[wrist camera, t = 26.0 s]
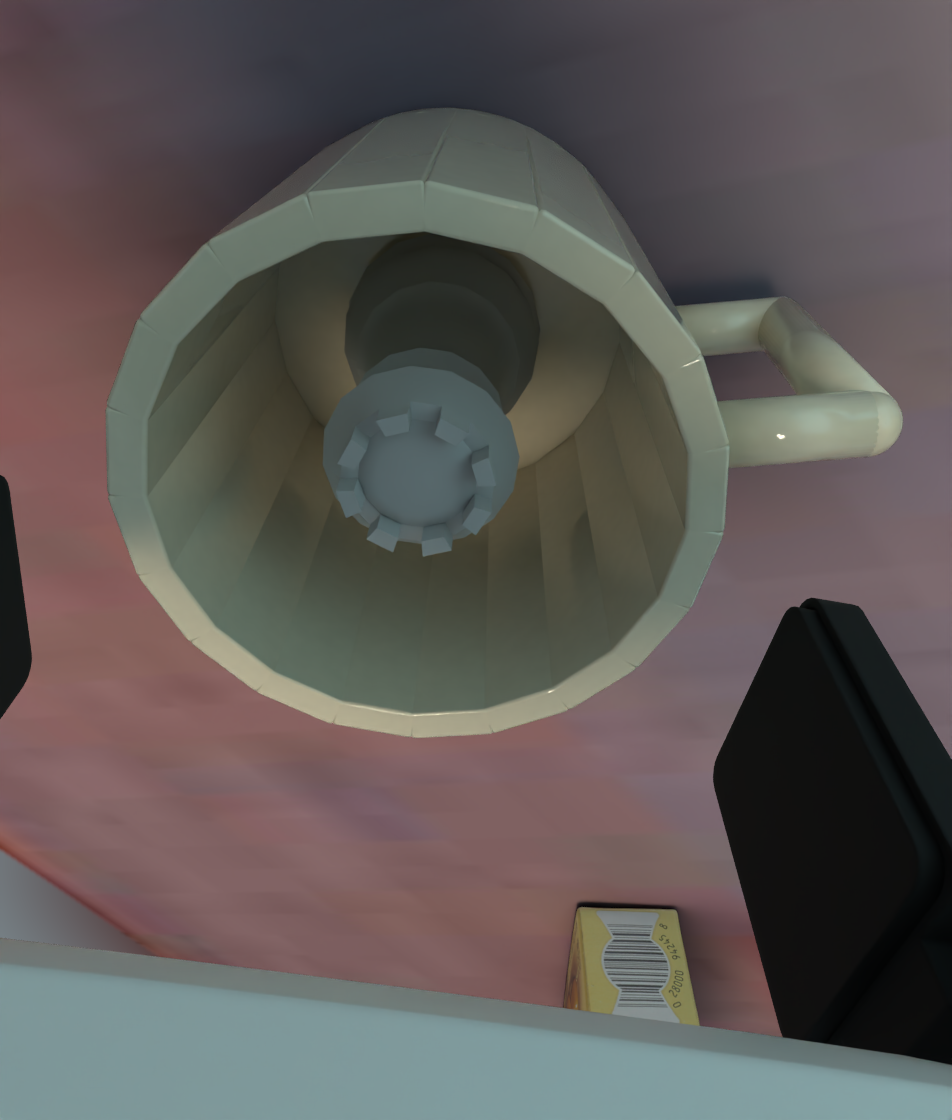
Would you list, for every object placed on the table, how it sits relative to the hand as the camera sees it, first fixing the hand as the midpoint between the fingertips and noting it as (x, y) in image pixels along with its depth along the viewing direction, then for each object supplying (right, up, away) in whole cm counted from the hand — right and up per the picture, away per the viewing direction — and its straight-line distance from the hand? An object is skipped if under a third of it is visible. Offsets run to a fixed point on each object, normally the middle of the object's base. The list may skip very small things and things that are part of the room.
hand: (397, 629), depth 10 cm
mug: (+2, +7, +10) cm, 12 cm away
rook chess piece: (0, +6, +10) cm, 12 cm away
